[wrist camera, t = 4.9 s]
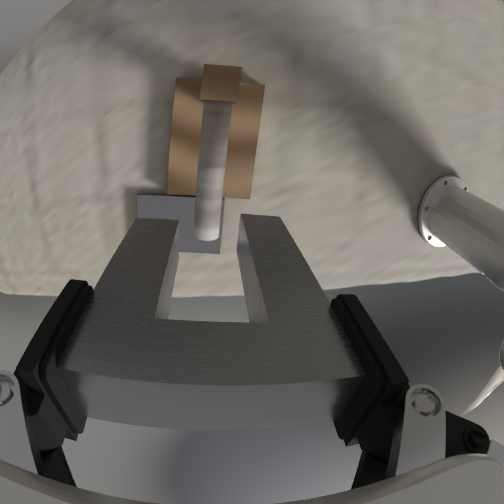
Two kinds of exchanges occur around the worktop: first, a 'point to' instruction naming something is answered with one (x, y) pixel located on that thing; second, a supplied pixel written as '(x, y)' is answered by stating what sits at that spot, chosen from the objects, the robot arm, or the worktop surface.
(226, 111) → the hook stand
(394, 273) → the worktop surface
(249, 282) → the grey u-shaped bracket
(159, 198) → the rubber mat
